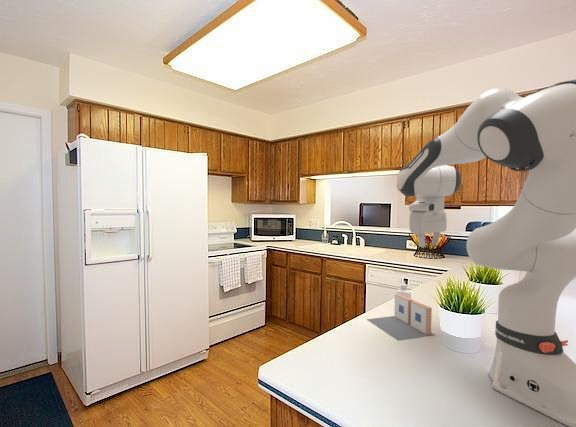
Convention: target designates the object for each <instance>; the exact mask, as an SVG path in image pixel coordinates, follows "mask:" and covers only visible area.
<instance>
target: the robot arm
mask: <svg viewBox="0 0 576 427" xmlns="http://www.w3.org/2000/svg"><path fill="white" fill-rule="evenodd" d="M485 158H487V159H488V160H490V161H492V162H493V163H496V164H497V165H499V166H502V167H506V168H509V169H510V170H511V171H513V172H528V175H527V178H526V180H525V182H524V184H523V187H522V189H521V191H520V193H519V196H518V198H517V200H516V202H515V204H514V205H513V207H512V208H511V209H510V211H509V212H507V213H505V214H504V215H503V216H501V217H500V218H498V219H496V220H494V221H493V222H491V223H488V224H486V225H484V226H481V227H476V228H475V229H474V230H472V231H471V233H470V234H469V235H468V238H467V239H466V246H465V247H466V248H465V249H466V252H467V255H468V257H469V259H470V260H471V261H472V262H473V263H474V264H475V265H478V266H481V267H485V268H489V269H494V270H501V271H515V272H517V271H518V272H526V273H525V275H524V277H522V279H521V280H520V281H518V282H514V283H513V284H509V285H507V286H505V287H504V288H502V289H501V291H500V292H499V294H498V300H497V301H498V304H497V305H498V307H497V309H498V310H497V320H496V321H495V332H494V333H495V337H496V344H495V350H494V356H493V360H492V364H491V366H490V369H489V371H488V376H489V378H490V380H491V381H492V383H491V385H492V386H491V387H492V389H494V390H495V391H497V392H499V393H501V394H503V395H506V396H507V397H510V398H512V399H513V400H515V401H517V402H519V403H521V404H523V405H525V406H527V407H530V408H531V409H533V410H535V411H536V412H537V411H538V412H540V413H542V414H543V415H545V416H547V417H549V418H552V419H553V420H555V421H558V422H559V423H561V424H563V425H565V426H567V427H576V363H575V361H573V360H572V359H571V358H570V357H569V355H567V354H566V353H565V352H564V348H563V347H567V346H569V340H561V339H560V338H559V336H558V334H557V332H556V316H557V315H556V314H557V307H558V303H559V299H560V297H561V295H562V294H563V291H564V290H565V288H566V287H567V286H568V285H569V284H571V282H573V280H575V279H576V79H569V80H566V81H561V82H557V83H554V84H552V85H549V86H546V87H543V88H540V89H538V90H537V91H536V92H534V93H532V94H528V95H526V96H520V95H519V94H518V93H516V92H515V91H514V90H511V89H507V88H505V87H497V88H495V87H494V88H491V89H488V90H486V91H484V92H482V93H481V94H480V95H478V97H477V98H475V99H474V101H472V102H471V103H470V105H468V107H467V108H466V109H465V110H464V112H463V113H462V114H461V116H460V117H459V118H458V120H457V122H455V124H453V125H452V126H451V127H449V129H447V130H446V131H444V132H443V133H442V134H440V135H439V136H437V137H435V138H433V139H431V140H430V141H428V142H427V143H426V144H424V146H423V147H422V148H421V149H420V151H418V153H417V154H416V155H415V156H414V157H413V159H412V160H410V162H409V163H408V164H406V165H404V166H403V167H402V168H401V169H400V170H399V172H398V175H397V178H396V186H397V187H396V188H397V190H398V191H399V192H400V193H401V194H402V195H404V196H405V197H416V199H415V200H414V201H413V202H412V203H410V204H409V206H408V209H409V212H410V213H409V231H410V233H411V234H414V235H415V234H416V237H417V242H418V247H421V248H425V247H426V243H427V241H425V238H426V234H432V235H433V236H432V239H431V245H433V246H435V245H437V246H438V244H439V241H440V240H439V239H440V237H441V233H443V232H446V231H447V222H448V220H447V213H446V211H445V197H446V196H447V197H448V196H453V195H454V194H456V193H457V192H458V190H459V189H460V188H461V186H462V185H461V183H462V176H461V172H460V171H459V170H458V168H456V167H455V166H451V165H459V164H462V165H463V164H469V163H470V164H472V163H476V162H479V161H481V160H483V159H485Z"/></svg>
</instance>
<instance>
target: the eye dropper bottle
mask: <svg viewBox="0 0 576 427" xmlns="http://www.w3.org/2000/svg"><path fill="white" fill-rule="evenodd" d="M396 294H401V295H403V296H405V297H407V298H410V299H412V294H411V291H410V290H408V284H406V281H405V280H403V281H402V283H401V284H400V289H397V291H396Z"/></svg>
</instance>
